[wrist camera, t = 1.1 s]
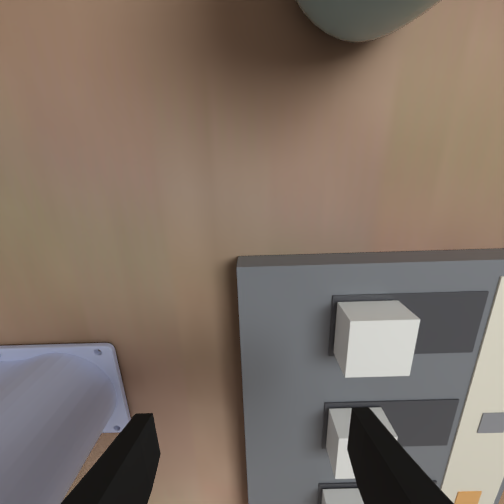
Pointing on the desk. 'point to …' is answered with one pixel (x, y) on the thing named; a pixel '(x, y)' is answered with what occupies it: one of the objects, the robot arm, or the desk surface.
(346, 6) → the cup
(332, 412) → the switch tab
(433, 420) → the switch board
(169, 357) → the desk surface
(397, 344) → the switch tab
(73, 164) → the desk surface
